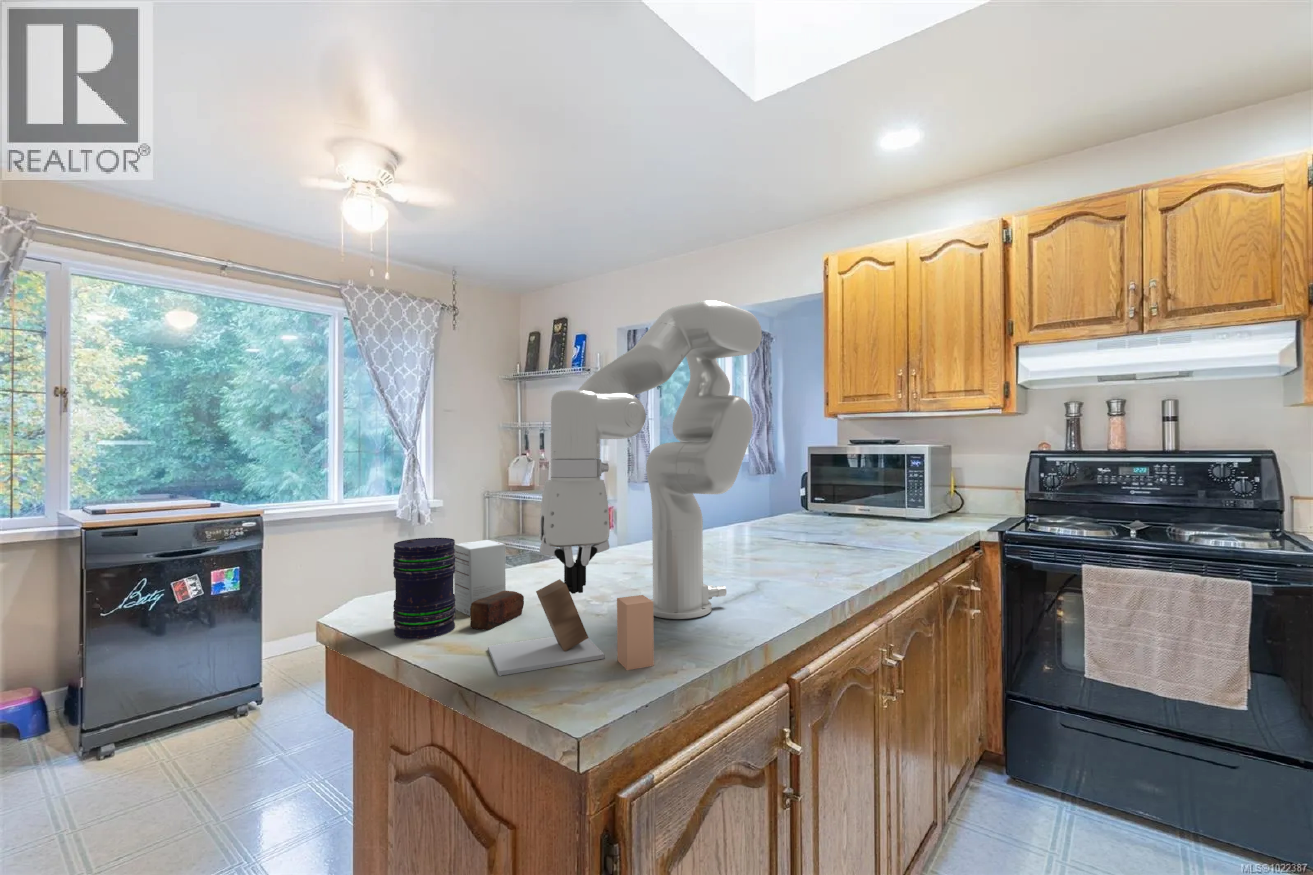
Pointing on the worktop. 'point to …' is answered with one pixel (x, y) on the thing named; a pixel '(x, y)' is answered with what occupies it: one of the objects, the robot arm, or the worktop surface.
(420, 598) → the dark blue ribbed cylinder
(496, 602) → the brick
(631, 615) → the terracotta block
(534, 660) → the mat
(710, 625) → the worktop surface
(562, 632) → the brown cardboard box
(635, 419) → the robot arm
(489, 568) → the supplement box
